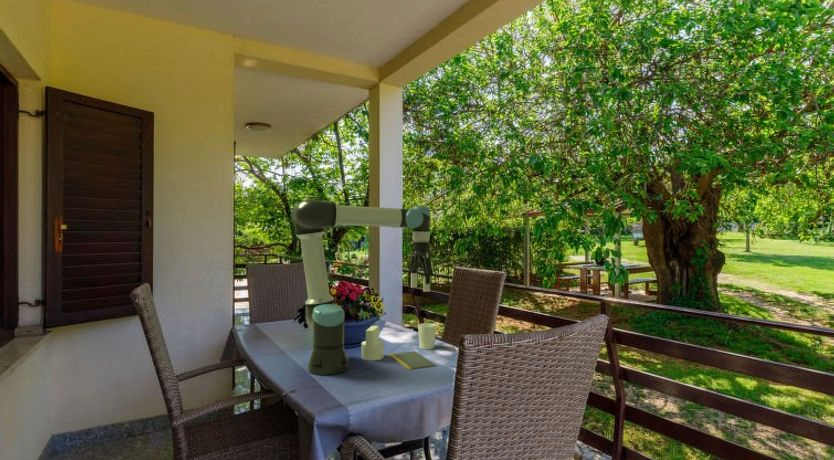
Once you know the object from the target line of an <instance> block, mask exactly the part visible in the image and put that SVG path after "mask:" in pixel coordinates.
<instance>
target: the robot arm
mask: <svg viewBox="0 0 834 460" xmlns="http://www.w3.org/2000/svg"><path fill="white" fill-rule="evenodd" d="M291 221H292V222H293V224H294V231H295V236H296V237H297V238H299V240H300V246H301V255H302V261H303V262H302V263H303V269H304V275H305V277H304V278H305V283H306V284H305V285H306V292H307V299H306V300H305V301H304V304H305V307H304V308H305V322H306V325H307V327H308V328H309V329H310V330H311V331H312V349H311V353H310V357H309V360H308V363H307V370H308V372H309V373H311V374H314V375H320V376H321V375H322V376H323V375H324V376H325V375H326V376H328V375H336V374H340V373H341V374H342V373H344V372H345V371H347V370H348V369H349V368H350V367H349V359H348V355H347V353H346V350H345V318H346V317H345V310H344V309H343V307H342V306H340V305H338V304H337V305H336V303H335V298H334V297H333V296H332V295H331V294H330V287H329V280H328V279H329V278H328V273H327V272H328V271H327V264H326V258H325V257H326V256H325V250H324V242H323V235H324V234H326V229H325V228H336V227H337V226H358V227H359V226H361V227H384V228H385V227H388V228H394V229H395V228H401V229H402V228H407V229H408V228H410V229H412V239H411V240H412V250H413V251H412V253H411V259H410V263H409V269H408V271H409V272H410V289H411V288H413V289H414V288H418V269H419V266H421V267H422V271H423V291H422V292H424V293H425V292H427V293H428V292H431V276H433V275H434V272H433V268H432V262H431V253H430V252H427V251H430V246H431V245H430V236H431V234H430V231H431V229H430V228H431V227H430V226H431V209H430V207H429V206H424V205H423V206H422V205H421V206H419V205H418V206H417V205H416V206H414V207H413V208H397V207H396V208H394V207H393V208H392V207H381V206H380V207H376V206H362V205H361V206H357V205H344V204H343V205H339V204H337V202H333V201H325V200H319V199H314V198H312V199H311V198H310V199H305V200H301V201H300V202H297V203H296V205H294V207H293V209H292V211H291Z"/></svg>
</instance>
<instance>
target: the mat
mask: <svg viewBox="0 0 834 460" xmlns="http://www.w3.org/2000/svg"><path fill="white" fill-rule="evenodd" d="M389 356H390V357H391V358H393V359H394V360H395V361H397V362H398V364H400V365H401V366H403V367H404V368H405V369H407V371H408V370H410V371H411V370H416V369H417V370H418V369H423V368H424V369H425V368H431V367H432V368H433V367H436V366H437V365H436V364H435V363H434V362H432V361H431V360H429V359H428V358H426V357H425V356H424V355H421V354H420V353H419V352H417V351H415V350H413V351H405V352H398V353H397V352H395V353H389Z"/></svg>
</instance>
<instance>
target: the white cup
mask: <svg viewBox="0 0 834 460" xmlns="http://www.w3.org/2000/svg"><path fill="white" fill-rule="evenodd" d="M417 326H418V331H417V332H418V333H417V334H418V342H419V343H418V344H419V349H421V350H432V349H434V348H435V342H436V332H437V329H436V328H437V327H436V324H435V323H430V322H429V323H428V322H427V323H426V322H425V323H423V322H422V323H419V324H418V325H417Z"/></svg>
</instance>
